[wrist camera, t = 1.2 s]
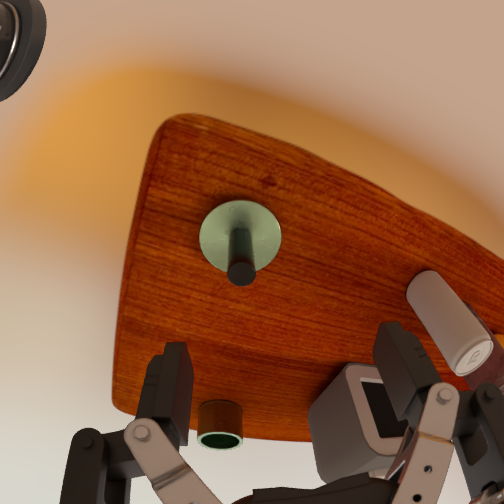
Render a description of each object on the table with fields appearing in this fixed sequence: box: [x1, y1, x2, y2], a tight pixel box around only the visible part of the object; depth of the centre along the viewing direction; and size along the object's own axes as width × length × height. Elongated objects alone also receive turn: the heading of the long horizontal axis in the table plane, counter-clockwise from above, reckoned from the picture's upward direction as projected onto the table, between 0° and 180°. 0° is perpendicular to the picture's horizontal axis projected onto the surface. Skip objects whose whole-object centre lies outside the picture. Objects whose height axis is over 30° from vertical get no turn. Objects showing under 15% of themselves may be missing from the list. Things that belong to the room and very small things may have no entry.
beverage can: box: [406, 271, 493, 376], centre depth 26 cm, size 5×5×12 cm
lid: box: [199, 199, 281, 286], centre depth 24 cm, size 7×7×7 cm
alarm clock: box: [308, 362, 409, 484], centre depth 34 cm, size 16×11×16 cm
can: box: [464, 303, 504, 396], centre depth 28 cm, size 6×6×14 cm
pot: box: [197, 400, 243, 450], centre depth 38 cm, size 6×6×5 cm
